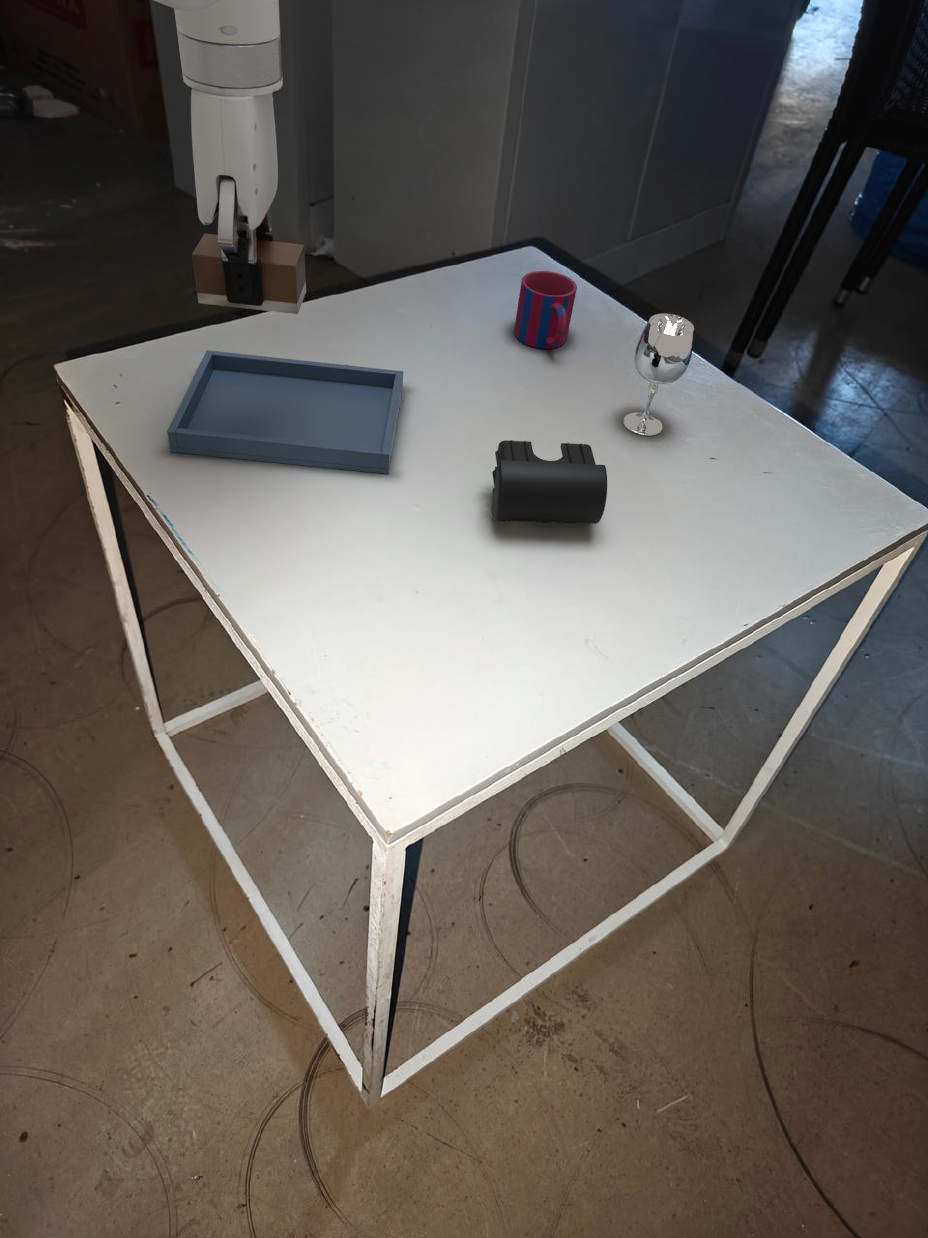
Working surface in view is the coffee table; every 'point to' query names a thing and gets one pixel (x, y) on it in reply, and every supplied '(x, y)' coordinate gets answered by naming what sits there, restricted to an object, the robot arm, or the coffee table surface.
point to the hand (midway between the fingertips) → (251, 287)
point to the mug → (544, 309)
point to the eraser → (278, 274)
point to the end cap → (548, 485)
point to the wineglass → (660, 363)
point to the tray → (289, 412)
